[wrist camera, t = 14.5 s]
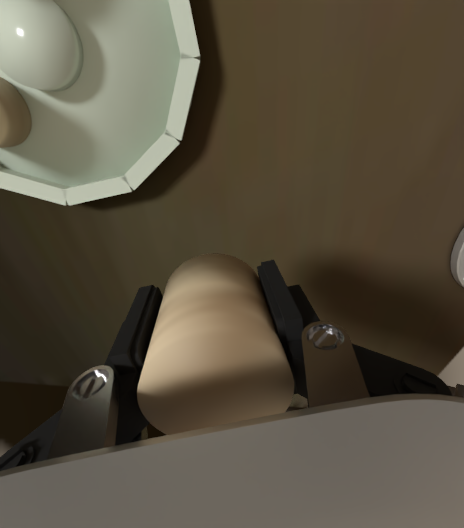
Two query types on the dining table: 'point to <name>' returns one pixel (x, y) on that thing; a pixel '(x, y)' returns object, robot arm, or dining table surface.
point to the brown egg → (213, 350)
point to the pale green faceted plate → (96, 92)
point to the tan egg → (13, 116)
